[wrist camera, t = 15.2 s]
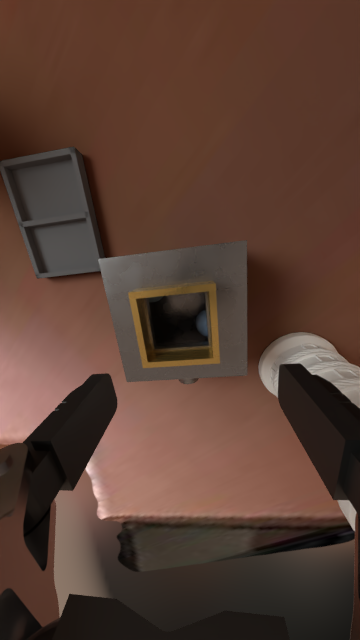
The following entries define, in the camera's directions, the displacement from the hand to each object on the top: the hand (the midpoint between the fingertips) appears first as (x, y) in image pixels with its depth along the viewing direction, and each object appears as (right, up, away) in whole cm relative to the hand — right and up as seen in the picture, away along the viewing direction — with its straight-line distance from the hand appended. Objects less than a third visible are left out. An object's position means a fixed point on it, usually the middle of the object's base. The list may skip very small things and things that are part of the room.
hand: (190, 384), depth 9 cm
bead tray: (-17, +17, +17) cm, 29 cm away
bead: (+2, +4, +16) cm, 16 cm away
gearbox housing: (0, +4, +19) cm, 20 cm away
